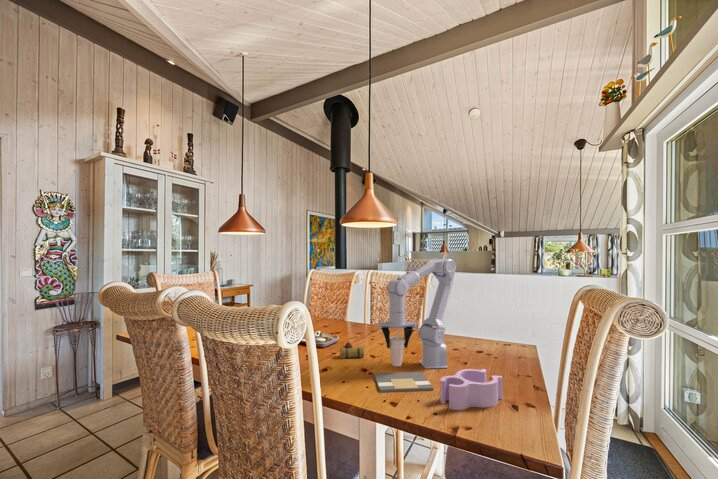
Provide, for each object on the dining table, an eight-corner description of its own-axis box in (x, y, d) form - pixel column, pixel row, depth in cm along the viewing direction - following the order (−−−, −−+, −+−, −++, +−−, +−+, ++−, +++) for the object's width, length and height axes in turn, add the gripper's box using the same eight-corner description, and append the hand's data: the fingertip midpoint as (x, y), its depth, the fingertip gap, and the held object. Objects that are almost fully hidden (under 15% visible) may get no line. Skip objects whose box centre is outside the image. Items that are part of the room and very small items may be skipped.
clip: (460, 416, 90) (459, 391, 90) (432, 397, 101) (432, 375, 101) (509, 402, 98) (509, 379, 98) (479, 386, 109) (478, 366, 110)
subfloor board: (421, 374, 120) (421, 371, 120) (433, 390, 106) (433, 387, 106) (374, 375, 118) (374, 373, 118) (380, 392, 104) (380, 389, 104)
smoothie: (400, 368, 116) (401, 330, 117) (385, 365, 120) (385, 327, 120) (408, 364, 121) (408, 327, 122) (393, 360, 125) (393, 324, 126)
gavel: (337, 339, 157) (357, 338, 159) (337, 348, 157) (357, 347, 158) (341, 349, 137) (364, 348, 138) (341, 360, 136) (364, 359, 138)
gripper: (412, 309, 126) (412, 343, 126) (376, 309, 125) (376, 344, 124) (417, 312, 119) (417, 349, 118) (379, 313, 118) (379, 350, 117)
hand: (397, 347), depth 121 cm, fingers closed on smoothie, 6 cm apart
